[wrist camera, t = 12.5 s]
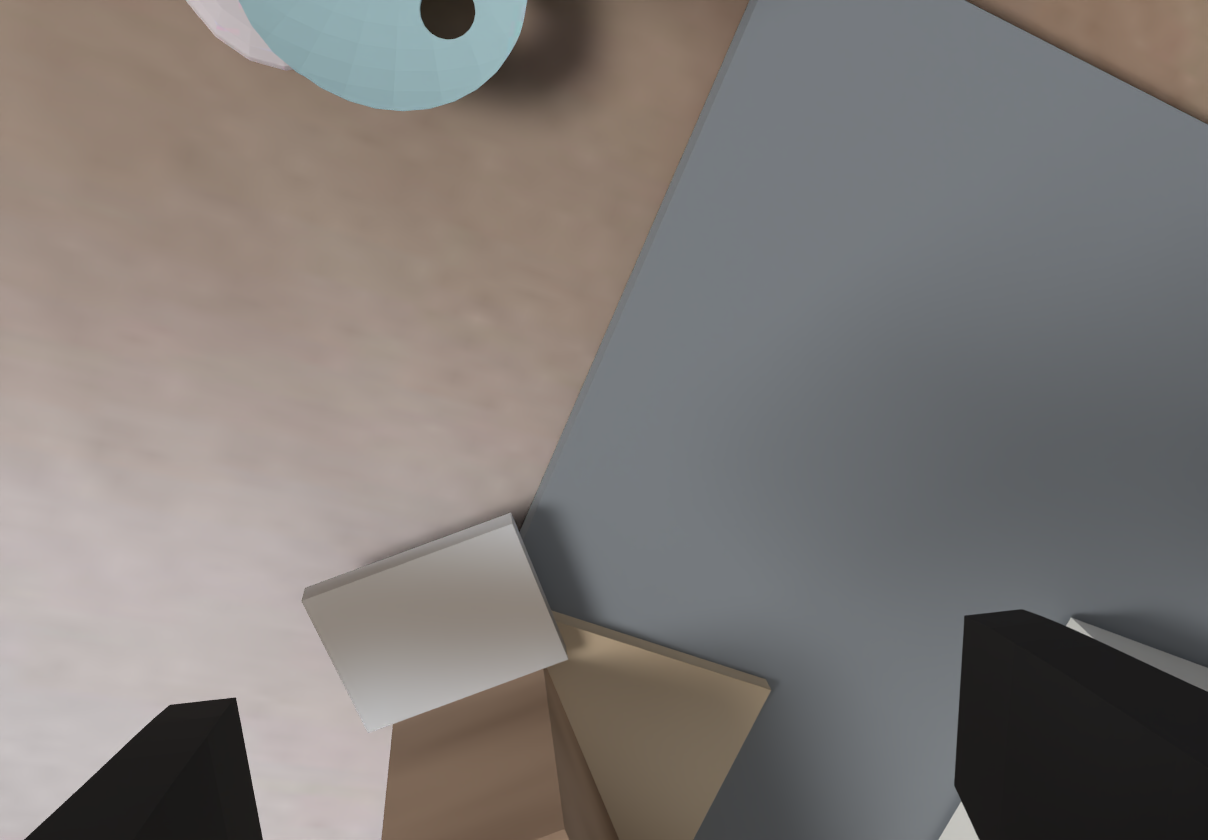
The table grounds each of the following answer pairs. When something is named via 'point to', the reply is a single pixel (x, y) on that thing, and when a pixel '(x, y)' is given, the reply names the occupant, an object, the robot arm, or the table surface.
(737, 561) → the mat
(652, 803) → the pad
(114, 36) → the table surface
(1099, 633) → the tile
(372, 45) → the pacifier
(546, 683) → the brown rectangular block
